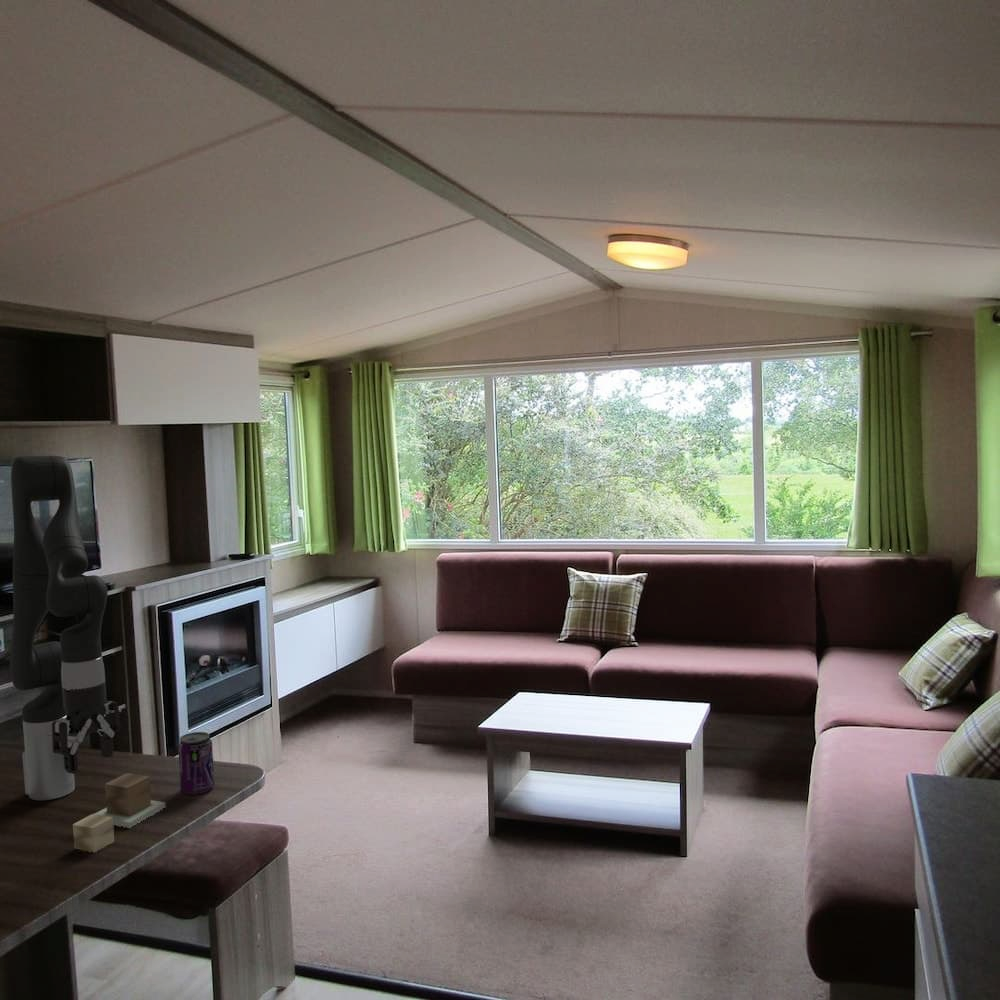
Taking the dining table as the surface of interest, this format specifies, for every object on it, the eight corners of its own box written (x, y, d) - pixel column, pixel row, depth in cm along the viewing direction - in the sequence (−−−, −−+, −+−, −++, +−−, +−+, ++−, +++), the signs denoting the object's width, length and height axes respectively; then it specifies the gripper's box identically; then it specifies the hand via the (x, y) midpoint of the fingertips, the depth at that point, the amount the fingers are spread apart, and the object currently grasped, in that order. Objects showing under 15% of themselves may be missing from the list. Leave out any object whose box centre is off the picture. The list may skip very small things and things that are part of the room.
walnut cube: (106, 812, 193) (104, 783, 193) (128, 800, 199) (126, 773, 198) (129, 816, 191) (127, 787, 191) (150, 804, 197) (149, 776, 196)
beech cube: (74, 849, 180) (72, 824, 180) (94, 838, 185) (93, 813, 184) (94, 853, 178) (92, 828, 178) (114, 841, 183) (112, 817, 182)
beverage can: (204, 797, 203) (201, 743, 201) (174, 795, 204) (171, 741, 203) (220, 784, 210) (217, 731, 208) (191, 782, 211) (188, 730, 210)
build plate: (92, 820, 192) (91, 814, 192) (128, 801, 202) (128, 795, 201) (129, 828, 189) (129, 822, 188) (165, 808, 198) (165, 802, 198)
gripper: (97, 669, 186) (103, 749, 188) (37, 690, 173) (44, 776, 175) (127, 672, 184) (132, 753, 185) (68, 694, 171) (75, 780, 172)
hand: (90, 764), depth 180 cm, fingers open, 8 cm apart
